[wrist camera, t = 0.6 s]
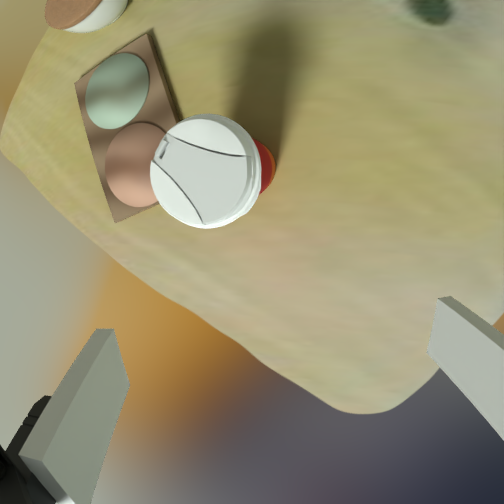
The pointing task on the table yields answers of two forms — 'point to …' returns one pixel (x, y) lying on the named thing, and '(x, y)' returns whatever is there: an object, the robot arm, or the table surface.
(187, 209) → the paper cup
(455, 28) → the table surface
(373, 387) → the table surface
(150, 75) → the brown flat rectangular board
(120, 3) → the lidded jar
